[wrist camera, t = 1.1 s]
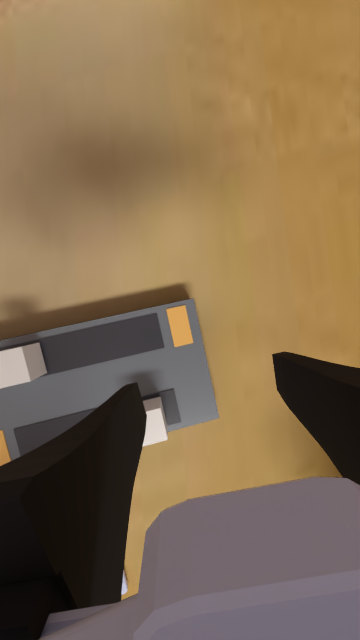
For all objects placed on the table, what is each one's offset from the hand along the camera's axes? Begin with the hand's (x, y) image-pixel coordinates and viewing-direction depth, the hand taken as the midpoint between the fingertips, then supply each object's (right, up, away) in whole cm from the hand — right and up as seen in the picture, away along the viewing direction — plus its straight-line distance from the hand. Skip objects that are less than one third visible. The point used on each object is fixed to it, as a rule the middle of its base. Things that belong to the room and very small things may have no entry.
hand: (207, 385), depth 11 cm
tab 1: (-16, -1, +9) cm, 18 cm away
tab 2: (-5, -6, +10) cm, 13 cm away
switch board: (-10, -3, +12) cm, 16 cm away
